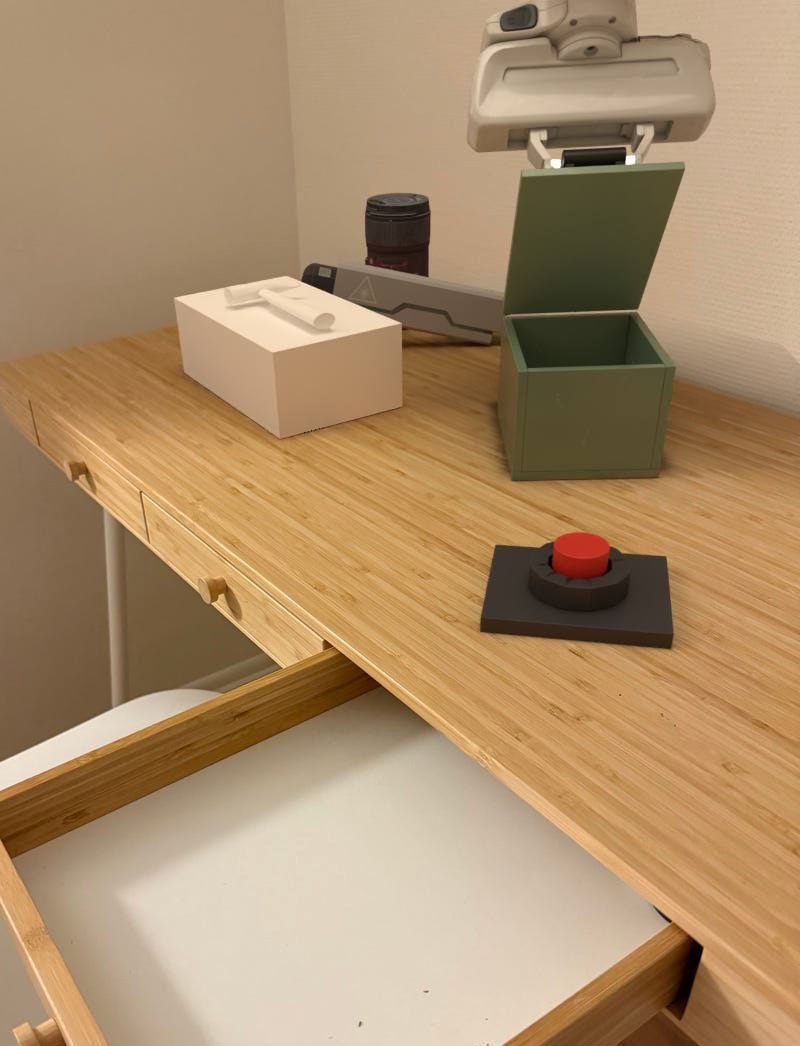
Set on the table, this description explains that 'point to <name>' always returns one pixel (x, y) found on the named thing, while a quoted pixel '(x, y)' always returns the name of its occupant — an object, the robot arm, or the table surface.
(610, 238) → the box lid
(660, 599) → the button box
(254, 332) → the white rectangular box
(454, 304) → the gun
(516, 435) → the green box
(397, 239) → the camera lens
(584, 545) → the button
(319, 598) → the table surface
